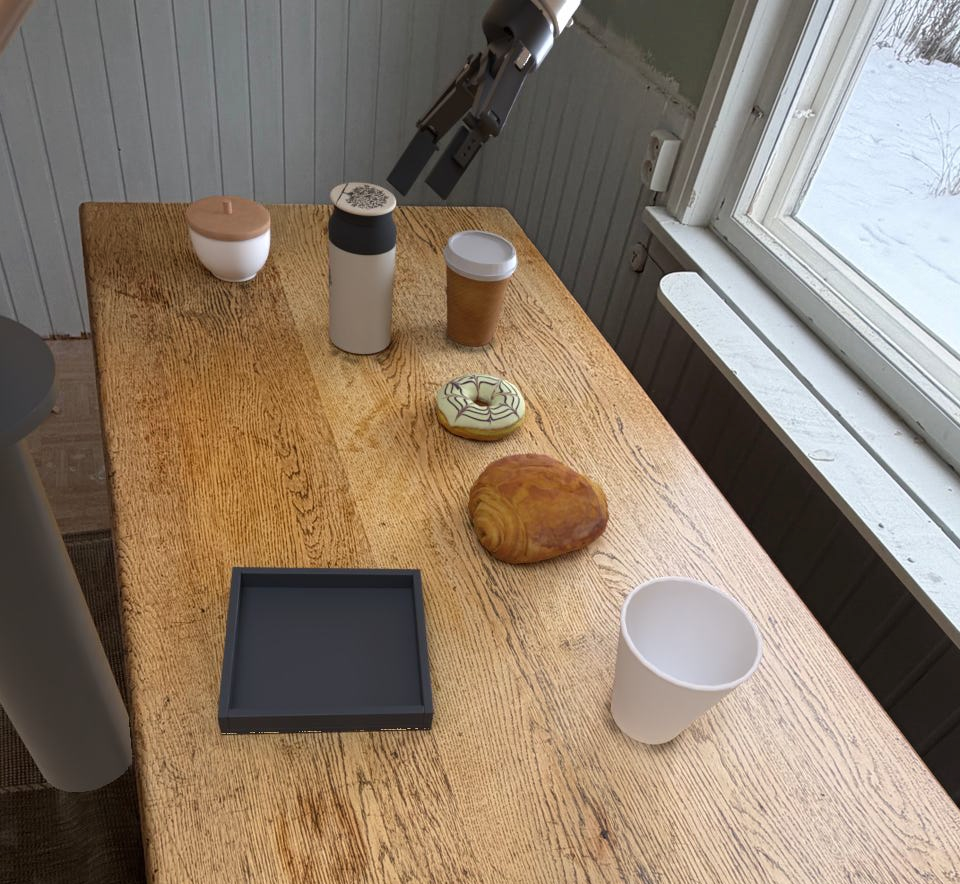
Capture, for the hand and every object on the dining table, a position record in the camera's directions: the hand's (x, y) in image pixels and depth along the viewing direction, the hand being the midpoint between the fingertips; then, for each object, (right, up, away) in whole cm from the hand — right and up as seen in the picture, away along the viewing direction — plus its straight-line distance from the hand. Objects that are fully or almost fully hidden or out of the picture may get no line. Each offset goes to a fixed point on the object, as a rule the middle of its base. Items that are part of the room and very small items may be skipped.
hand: (413, 189), depth 90 cm
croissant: (+13, -38, -1) cm, 40 cm away
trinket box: (-27, +1, +22) cm, 35 cm away
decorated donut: (+7, -24, +9) cm, 26 cm away
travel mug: (-8, -11, +16) cm, 21 cm away
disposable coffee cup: (+6, -9, +21) cm, 23 cm away
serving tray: (-6, -52, -16) cm, 55 cm away
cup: (+23, -57, -15) cm, 64 cm away
